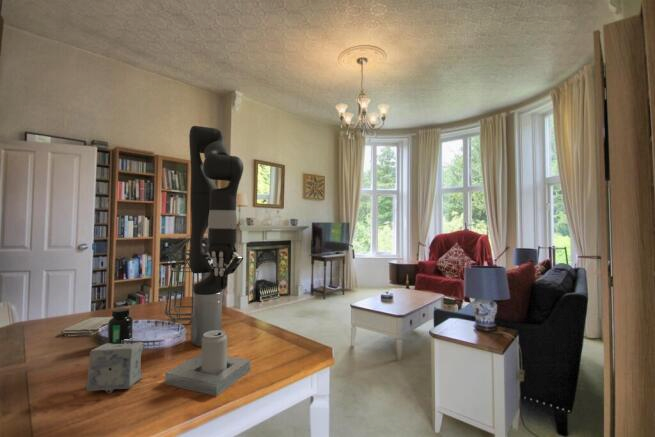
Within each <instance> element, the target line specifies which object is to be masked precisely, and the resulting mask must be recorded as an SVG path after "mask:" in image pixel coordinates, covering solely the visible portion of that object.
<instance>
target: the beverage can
mask: <svg viewBox="0 0 655 437" xmlns="http://www.w3.org/2000/svg"><path fill="white" fill-rule="evenodd" d="M203 336H204V337H203V338H202V346H201V353H202V364H201V373H206V374H210V375H215V376H217V375H218V374H220V373H221V372H223V371H224V370H226V369H227V356H228V336H227V335H226V331H225V330H213V331H208V332H206V333H204V334H203Z"/></svg>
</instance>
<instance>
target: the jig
mask: <svg viewBox="0 0 655 437" xmlns="http://www.w3.org/2000/svg"><path fill="white" fill-rule="evenodd" d="M201 364H202V352H201V353H199V354H197V355H196V356H194V357H192V358H190V359H188V360H186V361H184V362H182V363H180V364H179V365H176V367H173V368H171V369H169V370H168V371H166V372H165V385H167V386H172V387H176V388H180V389H183V390H184V389H185V390H187V391H188V390H189V391H193V392H195V393H196V392H197V393H200V394H205V395H209V396H213V397H219V395H220V394H222V393H223V392H225V390H226V391H227V389H229V388H230V387H232V385H234V384H235V383H236V382H238V380H240V379H241V378H242V377H244V376H246V375H247V374H248V373H249V372H251V360H250V359H246V358H241V357H235V356H230V355H227V369H226V370H224V371H223V372H221V373H220V374H218V375H217V376H215V375H210V374H206V373H201Z"/></svg>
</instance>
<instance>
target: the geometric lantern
mask: <svg viewBox="0 0 655 437" xmlns="http://www.w3.org/2000/svg"><path fill="white" fill-rule="evenodd" d="M190 240H191V237H187V238H186V239H184V240H182V241H181V242H179V243H177V244H174V246H171V247H170V248H168V249H166V250H165V251H164V252H163V253H165V254H166V255H167V256H168V257H169V261H170V263H169V265H170V266H169V267H170V268H169V269H170V276H169V284H168V289H167V291H168V292H167V295H166V297H167V298H166V302H165V303H166V304H165V310H164V314H165V316H167V317H168V318H170V319H171V320H172V322H174V323H175V324H176V322H177V321H182V320H183V321H191V315H192V314H194V286H195V273H193V272H192V271H191V270H189V271H188V270H185V269H190V263H189V257H188V258H186V257H187V256H190V249H188V248H189V245H190ZM185 245H186V247H185ZM202 246H205V245H204V244H202ZM184 248H185V249H184ZM188 252H189V253H188ZM179 255H184V259H180V258H179ZM172 260H175V262H176V263H175V265H174V267H173V268H172V266H173V265H172ZM179 262H185V264H184V265H183V266H181V265H180V263H179ZM186 265H187V266H186ZM188 266H189V267H188ZM177 269H178V270H177ZM181 269H182V270H181ZM176 272H177V281H176V288H175V296H174V304H173V305H174V306H173V307H172V306H171V305H172V293H173V292H172V291H173V281H174V280H173V279H174V278H173V277H174V273H176ZM181 273H182V277H181V279H182V280H181V287H180V288H181V290H180V291H181V292H180V301H179V306H178V305H177V296H178V290H179V289H178V288H179V283H180V282H179V280H180V274H181ZM185 273H192V281H191V282H192V284H191V305H182V302H183V290H184V278H185V277H184V276H185ZM199 274H200V273H197V274H196V275H197V276H196V278H197V279H196V280H197V281H196V284H197V283H199V282H200V281H199V280H200V277H199V276H200V275H199ZM205 279H206V273H201V281H203V280H205ZM176 305H177V306H176ZM171 307H172V308H171ZM177 308H179V313H178V311H177ZM181 308H191V313H189V312H188V313H181ZM173 310H174V311H175V313H171V311H173ZM173 316H174V317H173ZM181 316H184V317H181ZM187 316H188V317H187ZM189 316H190V317H189ZM182 324H183V326H184V325H191V322H190V323H182Z"/></svg>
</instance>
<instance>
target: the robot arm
mask: <svg viewBox="0 0 655 437" xmlns="http://www.w3.org/2000/svg"><path fill="white" fill-rule="evenodd" d="M189 129H190V130H189V134H188V135H189V136H188V139H189V140H188V141H189V143H188V144H189V155H190V156H189V157H190V222H191V223H190V224H191V225H190V227H191V228H190V238H191V240H189V250H190V251H189V253H190V256H189V255H188V256H189V257H188V258H189V261H188V263H189V264H190V268H189V269H190V271H192V272H191V273H192V274H193V273H194V274H196V275H197V273H199V274H202V273H203V274H204V273H205V274H208V273H209V275H208V276H207V277H205V280H204V279H203V281H202V280H201V281H199V283H197V282H196V283H194V295H193V306H194V307H193V313H194V314H192V315H191V316H190V318H191V320H190V323H191V324H190V343H192V344H193V345H194V346H198V347H202V338H203V337H204V336H203V334H204V333H206V332H208V331H213V330H222V327H223V326H222V323H223V322H222V321H223V320H222V319H223V317H222V316H223V290H226V288H227V286H228V276H229V275H232V274H234V273H235V272H236V270H237V269H238V267H239V266H240V265H241V263H242V262H243V260H244V257H243V256H241V255H239V254H238V253H237V249H236V243H237V234H238V233H237V230H238V229H237V226H238V224H237V223H238V220H237V219H238V217H237V195H238V190H239V185H240V182H241V180H242V176H243V173H244V162H243V161H242V159H241V158H240V157H239V156H235V155H230V153H229V151H228V150H227V148H226V142H225V138H224V135H223V132H222V131H221V130H220V129H218V128H214V127H208V126H207V127H206V126H199V125H192V126H191V127H190V128H189ZM201 154H203V155H204V161H203V160H202V156H201ZM215 181H227V182H228V184H227V185H226V187H225V186H224V187H221V188H218V186H217V184H216V183H215ZM206 231H207V243H208V244H209V245H204V246H202V245H203V241H204V236H205V234H206Z"/></svg>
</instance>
